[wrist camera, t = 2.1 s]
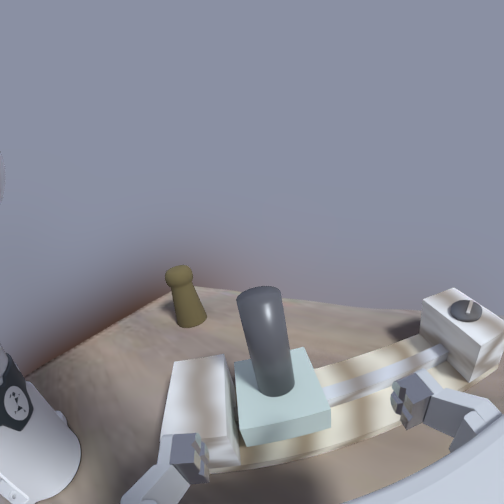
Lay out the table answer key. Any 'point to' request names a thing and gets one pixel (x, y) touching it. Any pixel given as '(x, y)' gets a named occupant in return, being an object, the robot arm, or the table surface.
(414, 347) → the rail track
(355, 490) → the table surface
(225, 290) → the table surface
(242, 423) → the carriage
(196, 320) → the olive brown pepper mill
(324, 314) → the table surface
